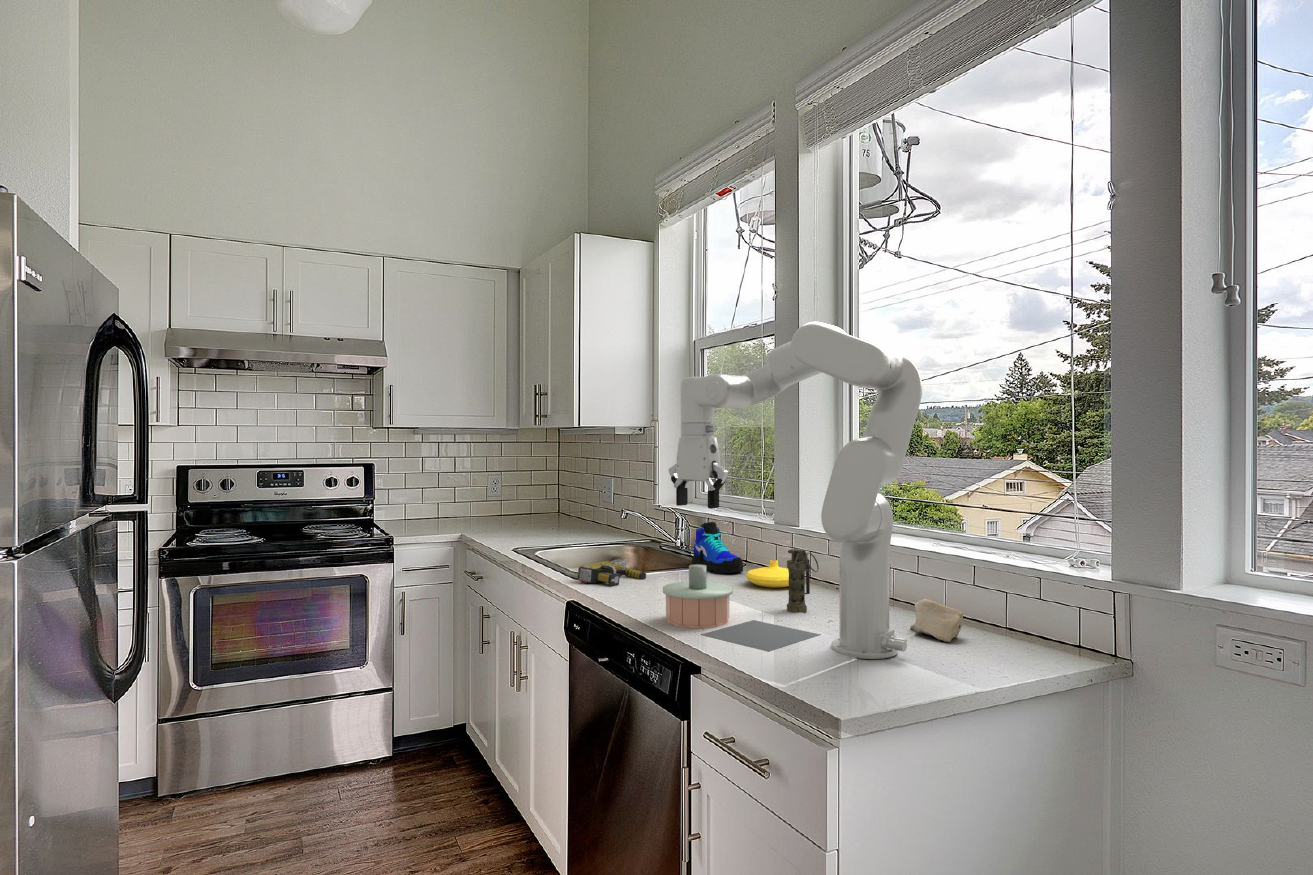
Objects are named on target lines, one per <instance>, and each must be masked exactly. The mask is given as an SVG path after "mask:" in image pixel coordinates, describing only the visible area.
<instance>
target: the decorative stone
mask: <svg viewBox="0 0 1313 875" xmlns="http://www.w3.org/2000/svg"><path fill="white" fill-rule="evenodd" d="M914 609H915V622H914V623H912V624H911V625H910V626H909V629H910V630H912V631H915V632H916V633H919V634H921V633H922V634H925V635H929V636H933V637H934V638H935V639H938V640H939V641H944V642H945V643H950V642H951V641H952V639H954V638H958V636H959V633H960V632H961V630H962V628H963V624H964V615H963V614H964V613H963V612H962V611H961V610H958V609H956V608H953V607H950V606H948V605H947V606H946V605H944V604H941V603H939V602H936V601H933V600H930V599H928V598H922V599H920V600H919V601H916V602H915V603H914Z"/></svg>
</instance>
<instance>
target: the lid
mask: <svg viewBox="0 0 1313 875" xmlns="http://www.w3.org/2000/svg"><path fill="white" fill-rule="evenodd" d="M707 573H708V572H707V571H706V565H692V564H690V565H688V581H679V582H672V583H668V584H666V585H663V587H662V593H663V594H664V595H665V596H666V595H668V596H672V597H677V598H686V599H712V598H720V597H725V596H729V597H730V596H731V595H733V593H734V586H731V585H729V584H727V583H722V582H715V581H707V576H708V575H707Z"/></svg>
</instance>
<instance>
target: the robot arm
mask: <svg viewBox="0 0 1313 875" xmlns="http://www.w3.org/2000/svg"><path fill="white" fill-rule="evenodd" d="M819 374H825V375H827V376H829V377H832V378H835V379H837V380H839V381H842V382H844V383H847V384H849V385H851V386H855V387H857V388H864V389H874V390H876V391H877V397H876V400H875V401H874V403H873V405H872V408H870V412H869V415H868V419H867V423H866V426H865V429H864V432H863V435H862V437H859V438H855V439H852V440H851V441H849V442H847V443H846V444H845V445H844V446H843V447H842V448H841V449H840V451H839V453H838V454H837V456H836V458H835V461H834V463H833V467H832V471H831V475H830V478H829V481H828V485H827V488H826V492H825V496H824V500H823V504H822V507H821V514H820V515H821V516H820V517H821V524H822V525H821V526H822V528H823V530H824V532H825V534H826V535H827V536H828V537H829V538H830V539H831V540H833V541H834V542H836V543H839V544H840V549H839V550H840V551H839V571H838V572H839V638H836V639H834V640H833V641H832V642H831V649H832V650H833V651H834V652H836V653H839V654H841V655H844V656H849V657H855V659H864V660H880V659H888V658H892V657H894V656H896V655H897V654H898V652H903V653H904V652H906V650H907V648H908V640H907V639H906V638H900V637H896V635H895V629H893V628H890V554H891V553H890V552H891V543H892V542H891V539H892V534H893V526H894V515H893V509H892V507H891V505H890V503H889V501H888V500H887V498H886V497H885V496H883V495H882V494H881V493H879V491H880V488H881V487H885V486H889V485H891V484H893V483H894V482H895V481H896V480H897V479H898V478H899V477H900V475H901V472H902V470H903V466H904V462H905V458H906V455H907V451H908V448H909V444H910V441H911V437H912V434H913V430H914V427H915V422H916V419H917V416H918V413H919V409H920V406H921V402H922V401H921V400H922V395H923V382H922V377H921V374H920V371H919V370H918V368H917V366H916V365H915V363H914V362H913V361H912V360H911V359H910V358H909V356H907V355H906V354H904V353H903V352H901V351H900V350H898V349H897V348H893V347H891V346H888V345H884V344H877V343H873V342H870V341H867V340H864V339H861V338H858V337H856V336H853V335H850V334H847V333H846V331H844V330H843V329H842V328H841V327H838V326H837V325H836V326H835V325H833V324H828V323H825V322H820V321H810V322H807V323H804V324H803V325H801V326H799V328H797V329H796V331H795V332H794V333H793V335H792V338H791V341H788V342H786V343H783V344H782V345H779V346H777V347H775V348H774V347H773V349H771V350H770V351H769V353H768V354H767V363H766V364H764V365H762V366H760V367H759V368H757V369H755V370H752V371H750V372H747V373H744V374H743V375H736V374H735V375H734V374H726V373H725V374H724V373H716V374H710V375H707V376H688V377H687V376H686V377H684V378H682V380H681V382H680V437H679V440H678V445H677V451H676V464H674V465H672V466H671V467H670V468H669V469H668V474H669V476H670V481H671V482H672V483H673V487H674V489H676V490H675V491H676V492H675V494H676V495H675V496H676V497H675V499H676V500H675V501H676V503H675V504H676V506H677V507H681V506H687V505H688V504H689V503H688V501H689V500H688V493H689V492H688V491H689V490H688V487H687V485H688V483H689V482H704V483H705V484H706V485H707V487H708V488H709V490H707V508H708V509H719V508H720V491H721V490H722V489H723V488H722V487H724V486H723V485H725V483H726V480H727V477H728V475H729V471H728V469H725V467H723V466H721V455H720V454H721V453H720V448H719V447H720V446H719V442H718V437H715V433H716V431H717V427H716V426H715V413H714V412H715V408H716V409H727V410H728V409H734V410H735V409H736V410H741V409H748V408H750V407H752V406H755V405H758V404H760V403H763V402H765V401H767V400H770V399H772V398H774V397H776V396H778V395H779V394H780V393H782V392H784V391H785V390H786V389H787V388H788V387H790V386H793V385H795V384H797V383H800V382H803V381H805V380H807V379H809V378H811V377H813V376H816V375H819Z"/></svg>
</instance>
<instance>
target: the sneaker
mask: <svg viewBox="0 0 1313 875" xmlns="http://www.w3.org/2000/svg"><path fill="white" fill-rule="evenodd" d="M693 545H694V546H693V550H692V551H693V553H692V557H691V561H690V562H691V565H706V573H709V574H713V575H714V574H720V575H721V574H722V575H723V574H731V573H734V574H735V573H742V572H744V562H743V559H742V558H741V557H739V556H738V555H736V554H733V553H732V552H730V551H729V549H728V547H727V546H726V545H725V544H724V543H723V541H722V540H721V531H720V528H719V527H718V526H717V523H716V522H715V521H708V522H704V523H702V524H700V526H699V527H697V528H696V531H695V540H694V544H693Z"/></svg>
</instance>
